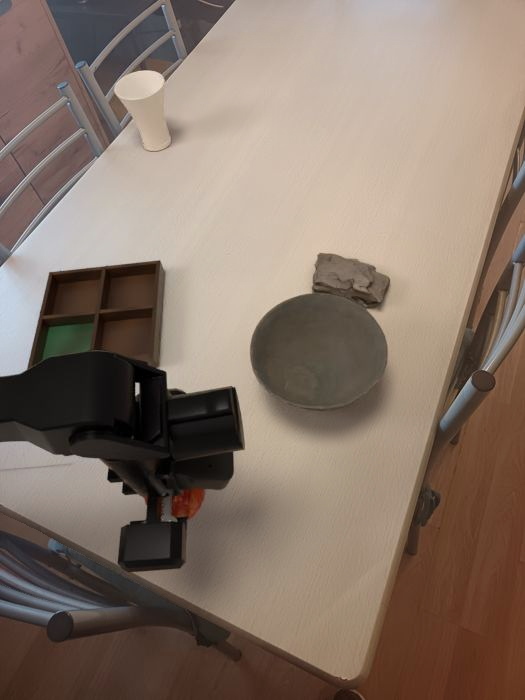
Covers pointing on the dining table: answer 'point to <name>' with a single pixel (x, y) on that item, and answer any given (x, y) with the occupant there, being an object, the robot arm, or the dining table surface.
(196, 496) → the red round fruit
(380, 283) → the rock
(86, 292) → the four compartment tray
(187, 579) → the dining table surface
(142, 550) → the robot arm
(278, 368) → the bowl
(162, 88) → the cup
